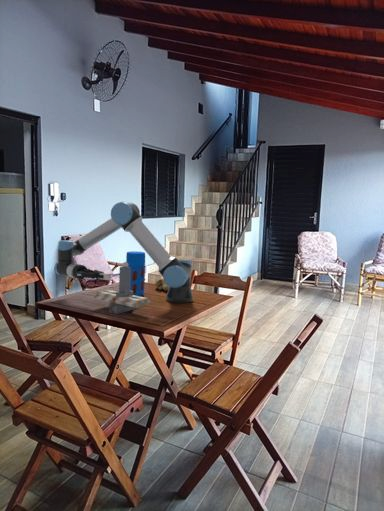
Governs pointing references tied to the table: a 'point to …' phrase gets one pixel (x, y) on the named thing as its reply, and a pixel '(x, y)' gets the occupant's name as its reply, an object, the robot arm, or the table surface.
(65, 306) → the table surface
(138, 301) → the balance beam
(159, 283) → the ginger root
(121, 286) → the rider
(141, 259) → the thermos
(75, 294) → the table surface
